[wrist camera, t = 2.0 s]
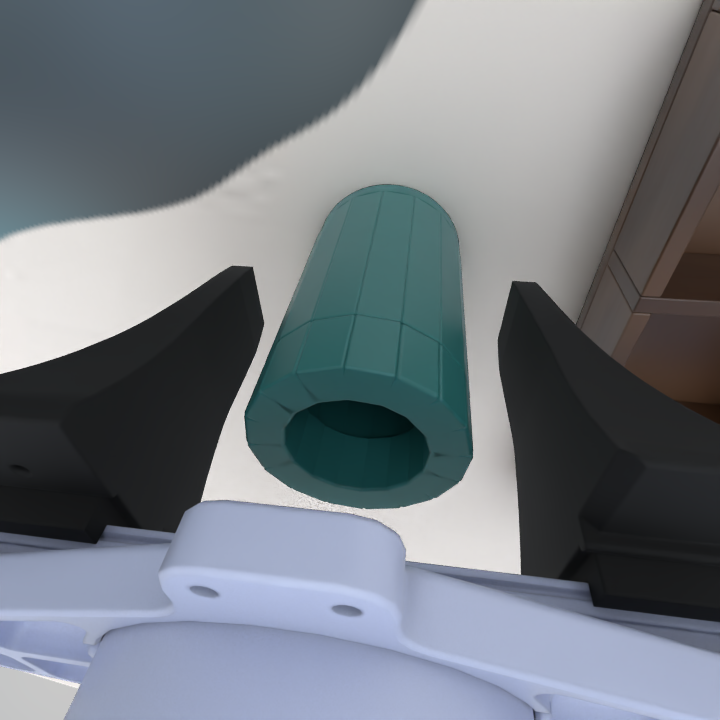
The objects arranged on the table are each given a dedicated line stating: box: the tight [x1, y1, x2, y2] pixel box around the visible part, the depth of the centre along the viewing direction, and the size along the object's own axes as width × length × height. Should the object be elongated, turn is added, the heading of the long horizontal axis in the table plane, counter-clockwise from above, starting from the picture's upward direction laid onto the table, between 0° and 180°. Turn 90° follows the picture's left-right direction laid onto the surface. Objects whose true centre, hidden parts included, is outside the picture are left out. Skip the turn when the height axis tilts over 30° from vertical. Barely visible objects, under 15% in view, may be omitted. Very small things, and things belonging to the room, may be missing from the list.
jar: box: [244, 185, 473, 509], centre depth 12 cm, size 5×5×8 cm
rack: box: [576, 0, 720, 425], centre depth 15 cm, size 19×7×3 cm, turn 1°
